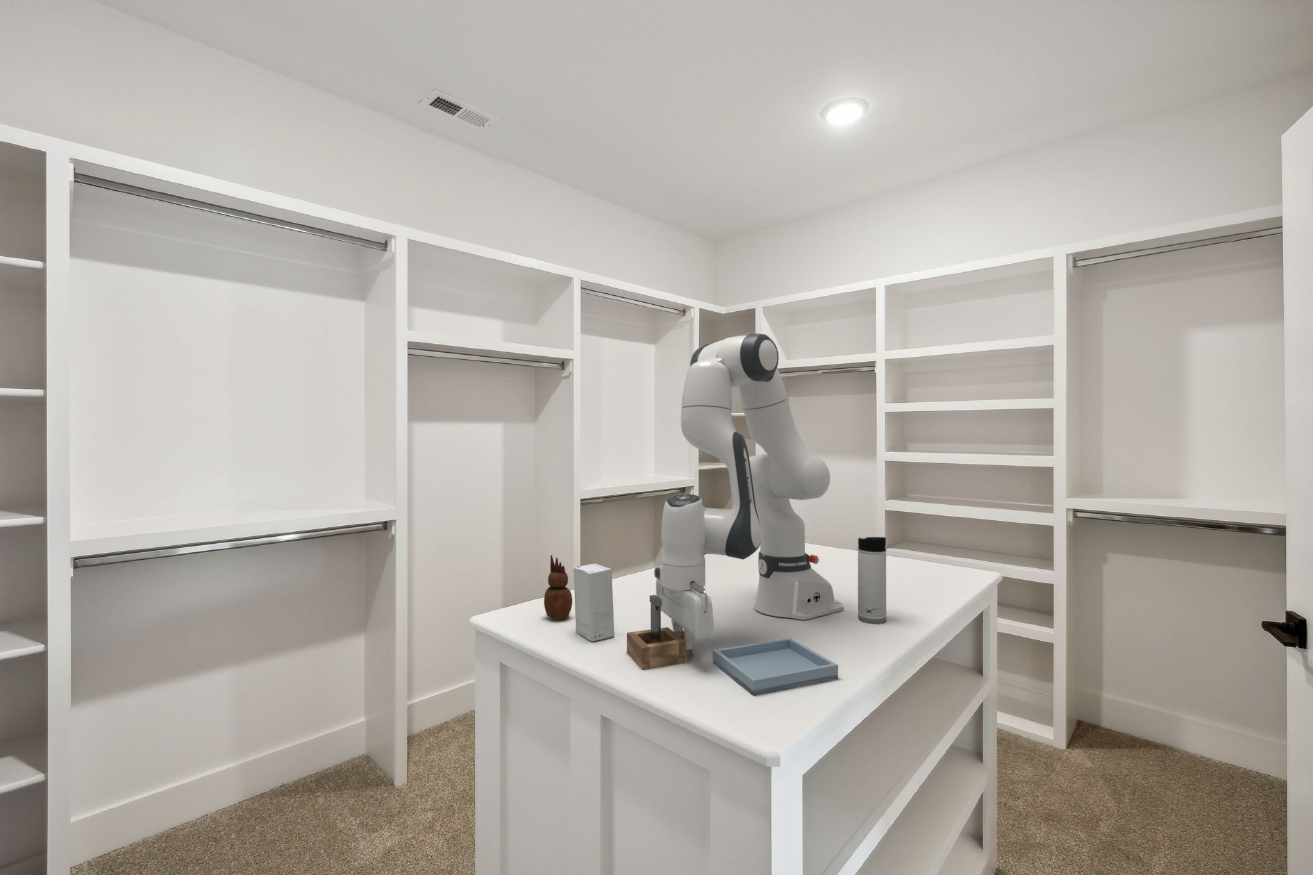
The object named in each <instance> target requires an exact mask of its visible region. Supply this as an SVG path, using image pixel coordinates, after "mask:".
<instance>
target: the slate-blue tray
mask: <svg viewBox="0 0 1313 875" xmlns="http://www.w3.org/2000/svg"><path fill="white" fill-rule="evenodd" d="M712 663H713V664H714V665H715V666H716V667H717V668H718V669H720V670H721V671H722V672H723V673H725V674H726V675H727V676H729V677H730V678H731V679H732V680H733V681H735V682H736V683H737V684H738V685H740V686H741V687H742V688H743V689H744V690H745V691H747V692H748V693H749V694H751V695H752V696H757V695H762V694H767V693H772V692H778V691H784V690H788V689H793V688H799V687H803V686H809V685H814V684H818V683H824V682H829V681H835V680H838V679H839V664H837V663H836V662H834V661H832V660H830V659H828V658H827V657H825V656H823V655H822V654H819V652H816V651H814V650H812V649H810V648H809V647H807V646H805V645H804V644H802V643H800V642H799V641H796V640H795V639H793V638H791V637H788V638H783V639H775V640H769V641H763V642H761V641H760V642H756V643H751V644H750V643H749V644H745V645H738V646H737V645H736V646H731V647H725V648H723V647H722V648H719V649H713V650H712Z"/></svg>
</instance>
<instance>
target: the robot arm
mask: <svg viewBox="0 0 1313 875" xmlns="http://www.w3.org/2000/svg"><path fill="white" fill-rule="evenodd" d="M779 357H780V356H779V351H778V347H777V344H776V343H775V342H774V340H773V339H772V338H771V337H770V336H769V335H767V334H764V333H749V334H747V335H737V336H731V337H726V338H725V339H722V340H719V341H716V342H713V343H707V344H705V345H702V346H700V347H699V348H697V349H696V350H694V352H693V353H692V356H691V359H690V362H689V364H690V365H689V368H688V369H687V372H686V376H685V380H684V383H683V384H684V385H683V390H682V397H681V406H680V407H681V409H680V410H681V411H680V428H681V433H682V435H683V437H684V438H685V440H686V441H687V442H688V443H689V444H690V445H692V446H693V447H694V448H696V449H698V450H700V451H702V452H704V453H707V454H709V455H711V456H714V457H715V458H717V459H719V460H720V461H721V462H722V463H723V464H724V465H725V467H726V469H727V470H728V476H729V484H730V485H729V486H730V492H731V500H732V508H713V507H706V506H704V505H703V504H704V503H703V499H702V497H700V496H698V495H696V494H691V493H690V494H689V493H682V494H681V493H680V494H677V495H672V496H669V497H668V498H667V499H666V500H665V502H664V506H663V510H662V511H663V512H662V517H661V518H662V519H661V544H662V551H663V552H662V553H663V554H662V557H661V565H659V566H655V567H654V569H653V572H654V573H653V576H654V578H655V579H656V581H655V595H656V596H658V597H659V598H660V599H662V606H661V613H663V614H664V615H666V617H669V618H670V619H671V626H672V629H673V630H672V631H673V632H679V631H684V633H685V635H684V639H683V640H685V641H686V650H689V649H692V648H693V649H694V639H695V638H697V639H699V638H701V639H702V638H708V637H711V636H712V635H713V633H714V631H715V630H714V629H715V628H714V611H713V603H712V599H711V597H710V595H709V594H708V593H707V592H706V588H705V586H706V557H705V554H708V555H716V556H717V555H719V556H726V557H730V558H732V559H739V560H745V559H748V558H749V557H750V556H752V555H753V554H754V553H756V551H758V549H759V551H758V562H757V564H758V566H757V567H758V574H759V578H758V585H757V586H758V587H757V591H756V597H755V601H754V604H753V609H754V610H756V611H757V612H759V613H761V614H764V615H768V616H773V617H778V618H779V617H780V618H791V619H795V620H800V621H801V620H802V621H806V620H810V619H814V618H819V617H821V616H826V615H830V614H833V613H837V612H842V611H844V608H845V607H844V604H842V602H840V601H838V600H836V599H835V594H834V589H833V586H832V584H831V583H830V582H829V580H827V579H825V577H823V576H822V575H821V574H820V573H818V572H817V571H816V570H815V569H813V568H812V565H811V563H812V564H815V565H818V564H819V562H820V557H819V556H818V555H814V554H810V555H809V554H808V553H807V552H806V526H805V522H804V520H803V518H802V517H800V516H799V514H797V513H796V512H795V511H794V509H793V507H792V504H791V501H790V500H798V501H806V500H807V501H808V500H813V499H819V498H821V497H823V496H824V495H825V493H826V492H827V491H828V489H829V487H830V483H831V473H830V469H829V467H828V466H827V464H826V462H824V460H823V459H821V458H819V457H818V456H816V455H815V454H814V453H813V452H812V451H811V450H810V449H809V447H808V446H807V445H806V443H805V442H804V440H803V439H802V438H801V436H800V434H799V432H798V430H797V428H796V425H795V422H794V419H793V414H792V411H791V407H790V404H789V399H788V395H787V390H786V387H785V385H784V381H783V378H782V375H781V373H780V371H779V369H778V365H779V359H780V358H779ZM736 386H738V388H739V395H740V396H739V397H740V400H741V406H742V409H743V414H744V419H745V423H746V426H747V431H748V434H749V437H750V439H752V441H753V442H754V443H755V444H757V445H758V446H760V447H761V448H762V449H763V450H764V452H765V453H761V454H755V455H752V456H750V455H749V449H748V445H747V443H746V439H745V437H744V435H743V434H741V433H739V432H738V431H737V430H736V427H735V425H734V421H733V417H732V406H733V403H732V402H733V401H732V400H733V399H732V387H736Z"/></svg>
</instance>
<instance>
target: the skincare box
mask: <svg viewBox="0 0 1313 875" xmlns="http://www.w3.org/2000/svg"><path fill="white" fill-rule="evenodd" d="M612 571H613V569H612V568H610V567H606V566H604V565H601V564H598V563H589V564H584V565H579V566H574V567H573V585H574V586H573V591H574V611H575V612H574V618H575V621H574V622H575V633H577V634H579V635H580V636H582V637H584V638H585V639H587V640H588V641H590V642H596V641H600V640H607V639H611V638H614V637H615V617H614V613H615V612H614V594H613V592H614V590H613V572H612Z"/></svg>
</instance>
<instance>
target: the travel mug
mask: <svg viewBox="0 0 1313 875" xmlns="http://www.w3.org/2000/svg"><path fill="white" fill-rule="evenodd" d="M857 541H858V542H857V544H858V546H857V611H858V612H857V618H858V619H857V620H860V622H863V623H866V622H867V624H871V623H872V624H873V625H874V624H875V625H880V623H881V624H884V623H886V622H887V538H886V537H885V536H884V537H883V536H869V537H868V536H867V537H865V538H862V537H859V538H857Z"/></svg>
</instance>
